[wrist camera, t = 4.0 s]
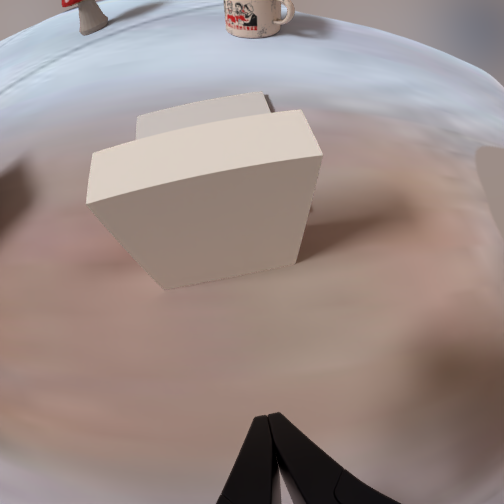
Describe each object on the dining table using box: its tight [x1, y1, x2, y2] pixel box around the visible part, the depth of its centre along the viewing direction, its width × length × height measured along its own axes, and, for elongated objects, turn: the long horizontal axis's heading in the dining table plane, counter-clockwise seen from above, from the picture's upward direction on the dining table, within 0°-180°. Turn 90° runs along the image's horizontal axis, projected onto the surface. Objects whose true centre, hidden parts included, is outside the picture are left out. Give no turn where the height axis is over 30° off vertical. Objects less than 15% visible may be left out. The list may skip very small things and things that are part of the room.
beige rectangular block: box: [86, 110, 323, 290], centre depth 18 cm, size 3×10×12 cm, turn 102°
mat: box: [136, 91, 271, 140], centre depth 27 cm, size 16×14×1 cm
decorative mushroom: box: [62, 0, 108, 36], centre depth 39 cm, size 10×9×15 cm
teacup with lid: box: [224, 0, 295, 38], centre depth 33 cm, size 12×9×12 cm
